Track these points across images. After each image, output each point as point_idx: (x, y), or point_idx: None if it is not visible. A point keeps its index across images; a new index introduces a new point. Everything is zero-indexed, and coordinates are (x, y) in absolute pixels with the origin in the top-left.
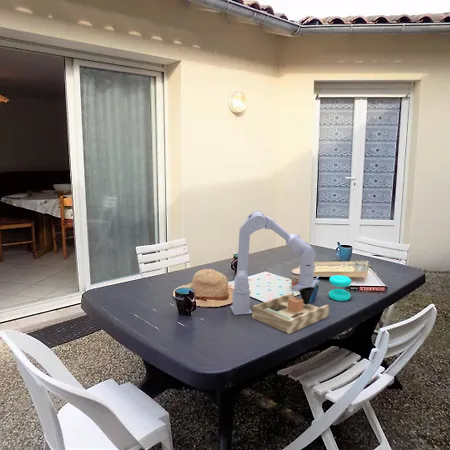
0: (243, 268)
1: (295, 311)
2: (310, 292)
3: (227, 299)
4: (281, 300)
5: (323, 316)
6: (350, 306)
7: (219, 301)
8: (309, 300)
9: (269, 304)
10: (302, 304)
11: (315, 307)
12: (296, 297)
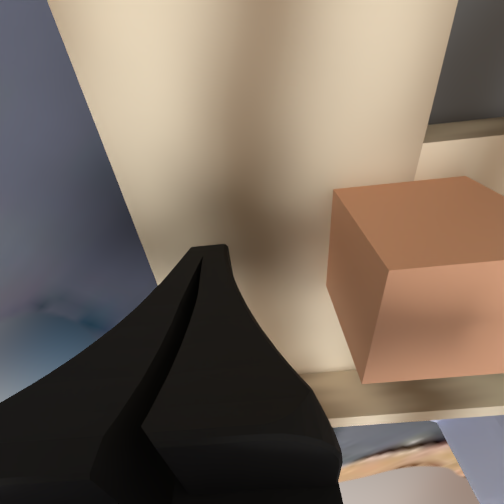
0: None
1: (470, 187)
2: (146, 376)
3: (411, 463)
4: (342, 390)
5: None
6: None
7: (450, 461)
8: (175, 267)
9: (486, 380)
10: (373, 222)
11: (146, 153)
12: (375, 364)
